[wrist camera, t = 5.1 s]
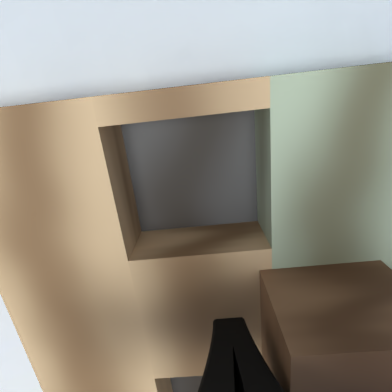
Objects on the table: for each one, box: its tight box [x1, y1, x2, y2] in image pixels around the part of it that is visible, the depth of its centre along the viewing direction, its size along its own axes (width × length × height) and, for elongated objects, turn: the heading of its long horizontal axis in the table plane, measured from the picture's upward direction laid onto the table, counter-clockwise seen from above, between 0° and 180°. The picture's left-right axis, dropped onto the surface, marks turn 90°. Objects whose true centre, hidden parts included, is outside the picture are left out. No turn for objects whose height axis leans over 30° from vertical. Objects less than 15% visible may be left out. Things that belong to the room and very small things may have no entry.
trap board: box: [0, 62, 392, 392], centre depth 13 cm, size 18×20×3 cm
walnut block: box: [259, 260, 392, 392], centre depth 10 cm, size 5×5×4 cm
